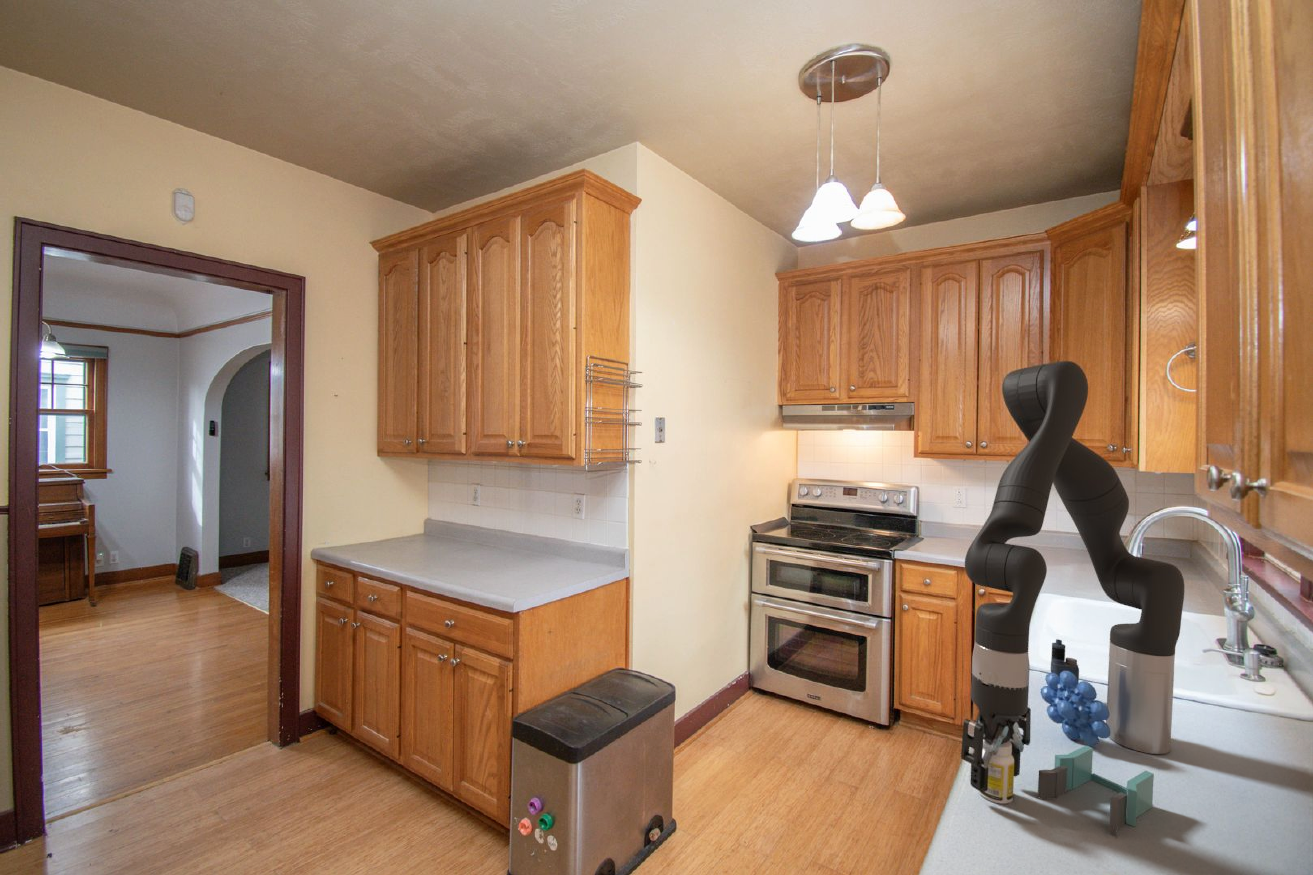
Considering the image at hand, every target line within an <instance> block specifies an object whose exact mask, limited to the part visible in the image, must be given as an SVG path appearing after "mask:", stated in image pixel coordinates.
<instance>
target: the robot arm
mask: <svg viewBox="0 0 1313 875" xmlns="http://www.w3.org/2000/svg"><path fill="white" fill-rule="evenodd" d="M1001 387H1002V388H1001V392H1002V398H1003V401H1004V404H1005V406H1006V408H1007V411H1008V412H1009V414H1010V416H1011V417H1012V419H1013V421H1014V422H1015V423H1016V425H1017V427H1018V429H1020V431H1021V432H1022V434H1023V435H1024V437H1025V439H1027V441H1028V443H1027V444H1026V445H1025V447H1023V449H1021V451H1020V452H1019V453H1018V454H1017V455H1016V456H1015V457H1014V459H1013V460H1012V461H1011V462H1010V463H1009V464H1008V465H1007V467H1006V468H1005V470H1004V471H1003V473H1002V474H1001V477H1000V479H999V482H998V485H997V488H996V489H997V490H996V492H995V495H994V500H993V504H992V507H991V511H990V513H989V515H988V517H987V519H986V521H985V522H984V524H983V526H982V528H981V529H980V531H979V532H978V533H977V535H976V537H975V538H974V539H973V541H972V543H971V544H970V546H969V548H968V550H967V552H966V554H965V558H964V571H965V573H966V576H967V577H968V579H969V580H970V581H971V583H973V584H975V585H977V586H980V587H984V588H990V589H993V590H999V591H1004V592H1008V593H1012V598H1011V600H1010V602H986V603H983V604H980V605H979V606H978V607H977V609H976V615H975V634H974V635H975V636H974V647H973V649H972V650H973V651H972V659H971V685H970V686H971V687H970V699H971V702H972V703H973V704H974V705H975V706H976V707H977V709H978V713H977V717H976V718H975V719H976V720H972V719H971V720H970V719H968V718H965V719H964V720H963V725H962V726H963V727H962V738H961V739H962V740H961V751H960V759H962V761H965V762H967V763H969V764H970V780H969V781H970V786H972V788H974V789H975V790H977V791H978V790H979V791H981V792H985V791H987V790H988V768H989V767H988V765H989V762H990V760H991V757H992V756H993V755H996V754H997V752H998V750H999V747H1000V745H1001V744H1003V743H1006V742H1008V741H1010V742H1011V744H1012V754H1011V755H1012V756H1013V758H1014V777H1018V776H1019V775H1020V769H1021V753H1023V752H1024V748H1025V746H1030V744H1031V722H1032V720H1031V718H1032V717H1031V712H1032V711H1031V708H1030V707H1029V688H1030V659H1029V658H1030V657H1029V641H1030V625H1031V619H1032V616H1033V612H1034V609H1035V605H1036V602H1037V600H1038V597H1039V595H1040V593H1041V590H1042V588H1043V585H1044V584H1045V583H1044V582H1045V580H1046V577H1047V572H1048V571H1047V570H1048V568H1047V563H1046V560H1045V558H1044V555H1042V553H1040V551H1038V550H1037V549H1036V548H1033V547H1030V546H1023V545H1016V544H1012V543H1011V544H1010V543H1007V542H1008V541H1009V540H1011V539H1014V538H1025V537H1026V538H1027V537H1032V536H1035V535H1037V534H1039V533H1040V532H1041V530H1042V527H1043V524H1044V521H1045V516H1046V511H1047V508H1048V504H1049V498H1050V494H1051V489H1052V487H1053V485H1054V488H1055V490H1056V492H1057V494H1058V495H1059V498H1060V499H1061V502H1062V504H1063V506H1064V508H1065V509H1066V511H1067V512H1068V514H1069V516H1070V517H1071V519H1072V521H1073V523H1074V525H1075V527H1076V528H1077V531H1078V534H1079V536H1080V538H1081V540H1082V542H1083V544H1084V546H1085V548H1086V551H1087V552H1088V555H1089V558H1090V560H1091V564H1092V566H1093V568H1094V571H1095V574H1096V578H1097V580H1098V582H1099V585H1100V587H1101V588H1102V590H1103V592H1104V593H1105V595H1106V596H1107V597H1108V598H1109V599H1110V600H1112V601H1114V602H1116V603H1118V604H1120V605H1123V606H1126V607H1131V608H1132V609H1133V608H1134V609H1137V610H1141V614H1140V617H1139V618H1140V619H1139V621H1138V622H1136V623H1119V624H1114V625H1112V626H1111V628H1110V631H1109V632H1110V633H1109V645H1108V646H1109V647H1108V652H1109V653H1108V672H1107V694H1106V695H1107V696H1106V706H1107V708H1108V710H1109V713H1110V715H1109V718H1108V719H1107V720H1105V723H1106V724H1107V725H1108V726H1109V728H1110V732H1111V733H1110V736H1109V737H1108V738H1109V739H1110V740H1112V741H1113V742H1115V743H1117V744H1119V745H1121V746H1124V747H1125V748H1129V749H1131V750H1134V751H1138V752H1142V753H1146V754H1152V755H1154V754H1155V755H1164V754H1165V755H1166V754H1168V753H1170V751H1171V744H1172V743H1171V742H1172V741H1171V740H1172V723H1173V722H1172V720H1173V705H1174V704H1173V700H1174V682H1175V660H1176V658H1175V657H1176V645H1177V642H1178V641H1179V639H1180V638H1179V637H1180V633H1181V627H1182V617H1183V616H1182V615H1183V610H1184V609H1183V608H1184V600H1185V579H1184V577H1183V574H1182V572H1181V570H1180V569H1179V568H1178V567H1177V566H1176V565H1174V564H1171V563H1169V562H1164V561H1160V560H1156V559H1151V558H1145V557H1140V556H1135V555H1133V554H1131V552H1129V550H1128V549H1127V548H1126V546H1125V544H1124V542H1123V540H1122V537H1121V533H1120V532H1121V530H1122V527H1123V525H1124V523H1125V521H1126V518H1127V515H1128V513H1129V507H1130V500H1129V496H1128V494H1127V491H1126V489H1125V487H1124V485H1123V483H1122V481H1121V479H1120V477H1119V475H1118V473H1117V472H1116V470H1115V468H1114V467H1113V466H1112V465H1111V464H1110V462H1108V460H1106V459H1104V457H1102V456H1101V455H1100V454H1098V453H1097V452H1096V451H1094V450H1092V449H1090V448H1089V447H1088V446H1086V445H1085V444H1083V443H1082V442H1080V441H1079V440H1077V439H1075V438H1073V436H1074V434H1075V432H1076V429H1077V427H1078V424H1079V422H1080V420H1081V417H1082V415H1083V414H1084V410H1085V407H1086V405H1087V400H1088V396H1089V383H1088V378H1087V376H1086V374H1085V372H1084V370H1083V368H1082V367H1081V366H1080V365H1078V364H1077V363H1076V362H1073V361H1071V360H1062V361H1061V360H1060V361H1053V362H1047V363H1043V364H1039V365H1033V366H1028V367H1023V368H1019V369H1015V370H1011V371H1010V372H1009V373H1007V374H1005V376H1004V378H1003V380H1002V384H1001ZM1020 729H1021V730H1022V733H1023V734H1022V733H1021V731H1020ZM983 739H984V740H985V741H986V742H988V743H990V744H991V745H987V744H985V743H983ZM1024 745H1025V746H1024ZM983 750H985V753H984V756H983V758H982V751H983Z"/></svg>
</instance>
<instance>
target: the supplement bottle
mask: <svg viewBox="0 0 1313 875" xmlns="http://www.w3.org/2000/svg"><path fill="white" fill-rule="evenodd" d="M983 743H985V744H987V745H991V744H990V743H988V742H986V741H985V740H984V739H983ZM984 753H985V750H983V751H982V758H983V756H984ZM1011 754H1012V744H1011V742H1010V741H1008V742H1006V743H1003V744H1001V745H1000V747H999V750H998V752H997V754H996V755H993V756H992V757H991V760H990V762H989V765H988V767H989V768H988V790H987V791H985V792H981V791H979V790H977V791H978V793H979V795H980V796H982V797H983V798H984V799H986V800H988V801H989V802H992V803H995V804H1001V805H1004V804H1005V805H1007V804H1011V803H1012V802H1013V800H1014V799H1013V798H1014V781H1015V780H1014V778H1015V776H1014V758H1013V756H1012V755H1011Z"/></svg>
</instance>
